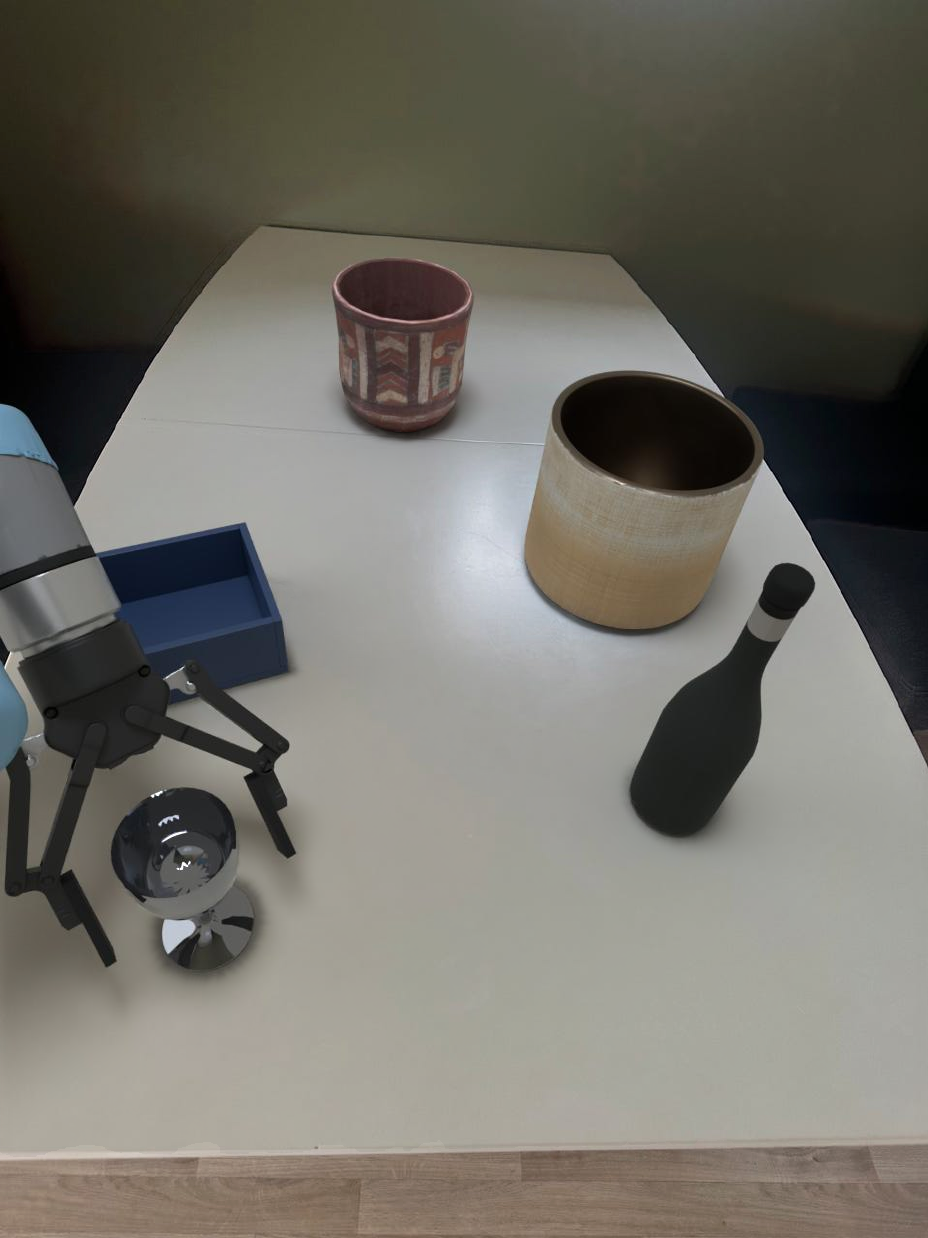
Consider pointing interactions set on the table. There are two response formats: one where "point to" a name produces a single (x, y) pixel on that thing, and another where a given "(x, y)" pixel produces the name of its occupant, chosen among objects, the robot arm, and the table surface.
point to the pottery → (401, 340)
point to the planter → (638, 496)
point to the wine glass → (186, 874)
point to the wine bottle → (716, 717)
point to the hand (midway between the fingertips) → (203, 902)
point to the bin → (200, 605)
